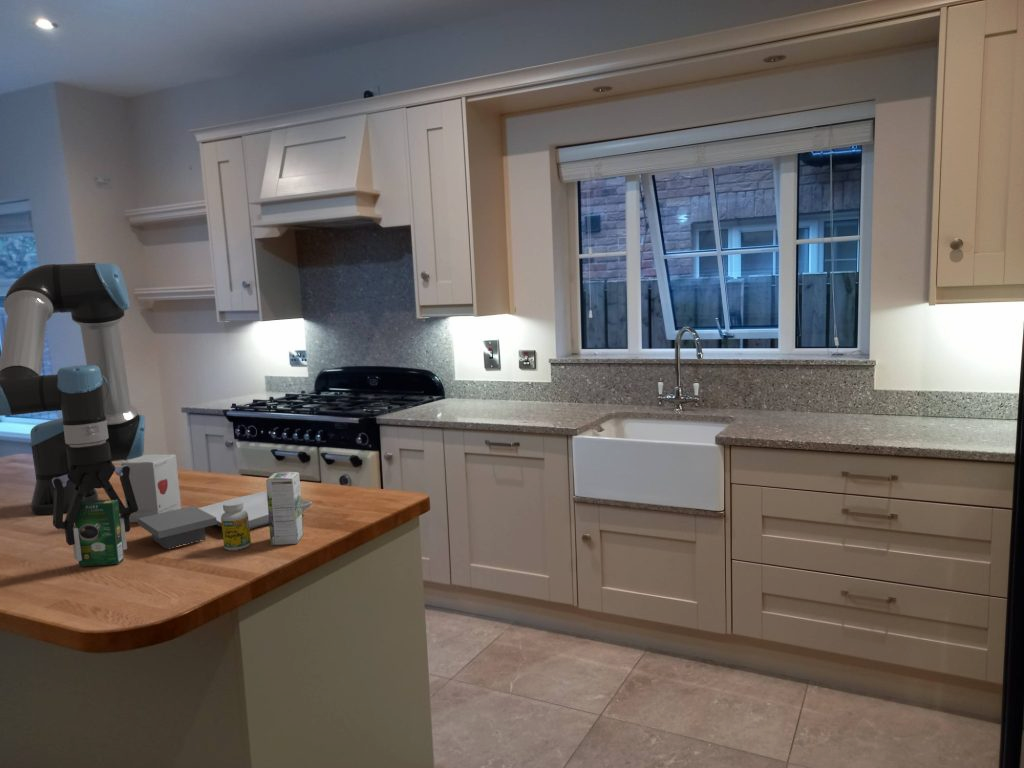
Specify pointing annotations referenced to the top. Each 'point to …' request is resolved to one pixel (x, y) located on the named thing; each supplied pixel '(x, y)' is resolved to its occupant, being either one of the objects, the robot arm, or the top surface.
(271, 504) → the syrup box
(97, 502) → the coffee box
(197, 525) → the grey stand
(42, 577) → the top surface
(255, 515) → the salad plate
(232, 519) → the supplement bottle
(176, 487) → the supplement box
